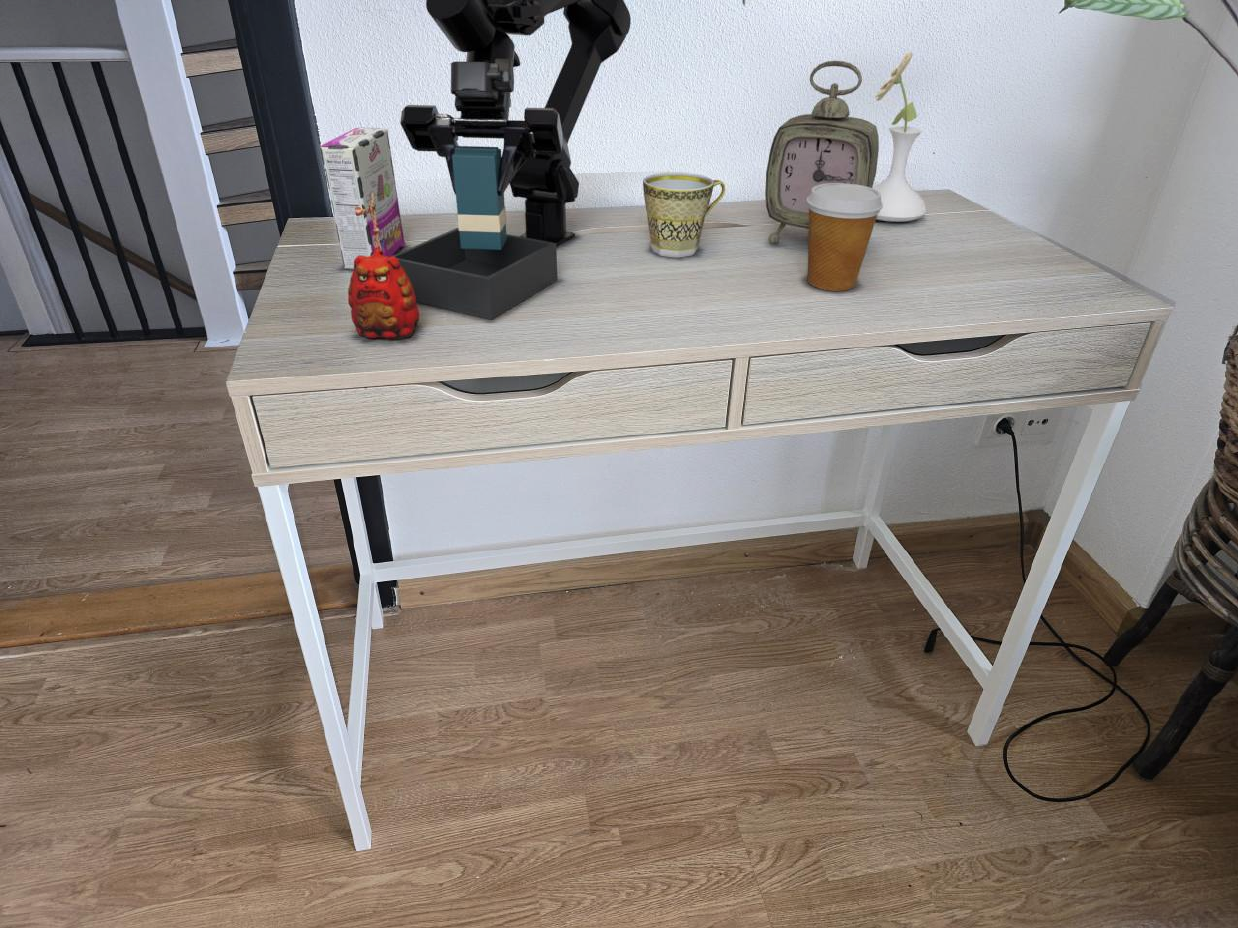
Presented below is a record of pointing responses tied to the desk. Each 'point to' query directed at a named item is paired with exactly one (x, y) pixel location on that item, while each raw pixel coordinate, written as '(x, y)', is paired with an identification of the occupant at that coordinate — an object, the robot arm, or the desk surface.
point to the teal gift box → (479, 197)
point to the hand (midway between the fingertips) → (477, 193)
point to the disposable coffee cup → (839, 232)
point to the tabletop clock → (818, 154)
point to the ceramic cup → (677, 210)
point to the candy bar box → (363, 192)
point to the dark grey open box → (478, 273)
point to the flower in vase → (900, 161)
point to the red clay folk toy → (381, 292)
